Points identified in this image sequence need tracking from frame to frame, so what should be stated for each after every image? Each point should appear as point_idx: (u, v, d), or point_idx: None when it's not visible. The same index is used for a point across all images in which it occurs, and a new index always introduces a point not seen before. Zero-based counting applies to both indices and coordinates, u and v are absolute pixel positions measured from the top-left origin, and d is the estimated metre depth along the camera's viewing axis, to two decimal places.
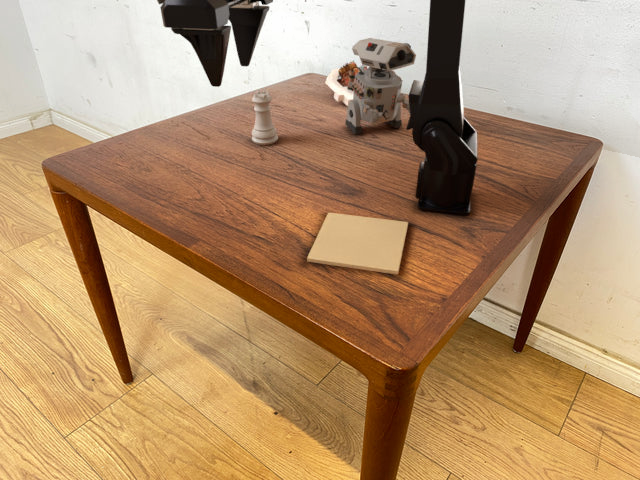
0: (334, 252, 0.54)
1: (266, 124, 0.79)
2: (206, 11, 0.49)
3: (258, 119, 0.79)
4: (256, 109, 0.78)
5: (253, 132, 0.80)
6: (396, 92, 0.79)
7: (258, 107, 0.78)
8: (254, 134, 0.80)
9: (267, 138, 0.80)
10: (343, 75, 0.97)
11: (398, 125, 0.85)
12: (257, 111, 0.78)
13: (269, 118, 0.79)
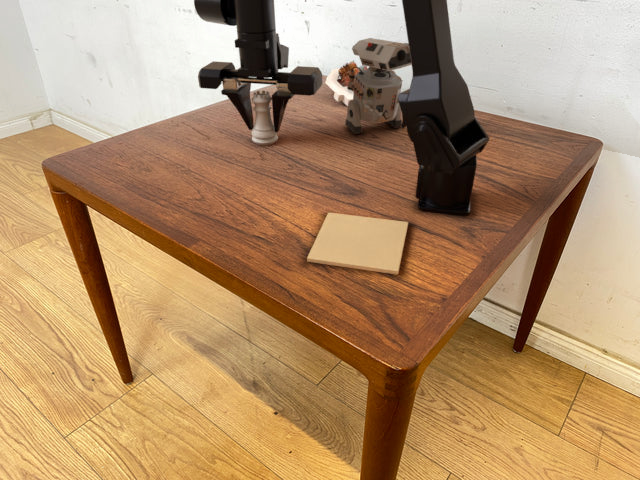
0: (334, 252, 0.54)
1: (266, 124, 0.79)
2: (198, 75, 0.76)
3: (258, 119, 0.79)
4: (256, 109, 0.78)
5: (253, 132, 0.80)
6: (396, 92, 0.79)
7: (257, 107, 0.78)
8: (254, 134, 0.80)
9: (267, 138, 0.80)
10: (343, 75, 0.97)
11: (398, 125, 0.85)
12: (257, 111, 0.78)
13: (269, 118, 0.79)
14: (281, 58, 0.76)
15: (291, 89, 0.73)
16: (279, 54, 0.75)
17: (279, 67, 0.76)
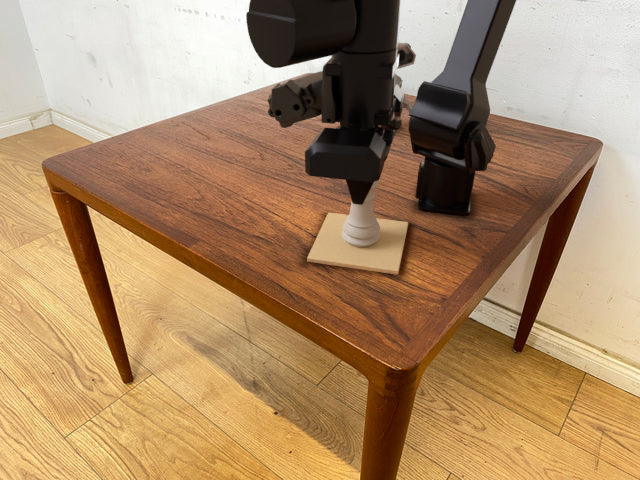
0: (334, 252, 0.54)
1: None
2: (370, 162, 0.38)
3: (372, 209, 0.54)
4: (371, 197, 0.53)
5: (370, 232, 0.54)
6: None
7: (372, 193, 0.53)
8: (374, 232, 0.54)
9: None
10: None
11: (398, 125, 0.85)
12: (372, 199, 0.53)
13: None
14: None
15: (400, 111, 0.51)
16: None
17: None
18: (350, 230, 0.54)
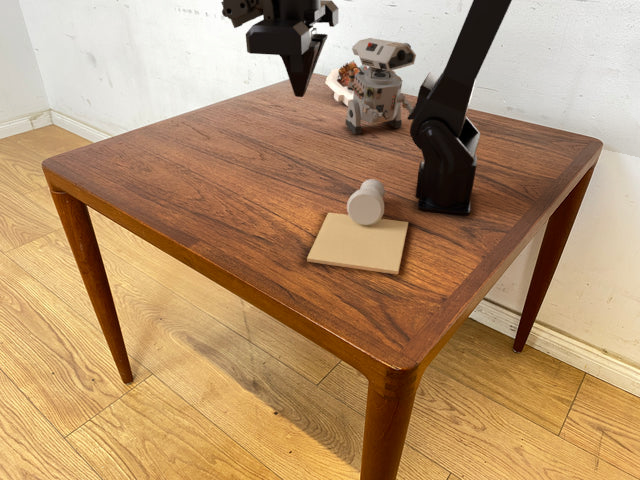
0: (334, 252, 0.54)
1: None
2: (293, 38, 0.50)
3: None
4: (380, 190, 0.62)
5: None
6: (396, 92, 0.79)
7: None
8: (381, 197, 0.58)
9: None
10: (343, 75, 0.97)
11: (398, 125, 0.85)
12: (380, 192, 0.61)
13: None
14: None
15: (333, 21, 0.63)
16: None
17: None
18: None
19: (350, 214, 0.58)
